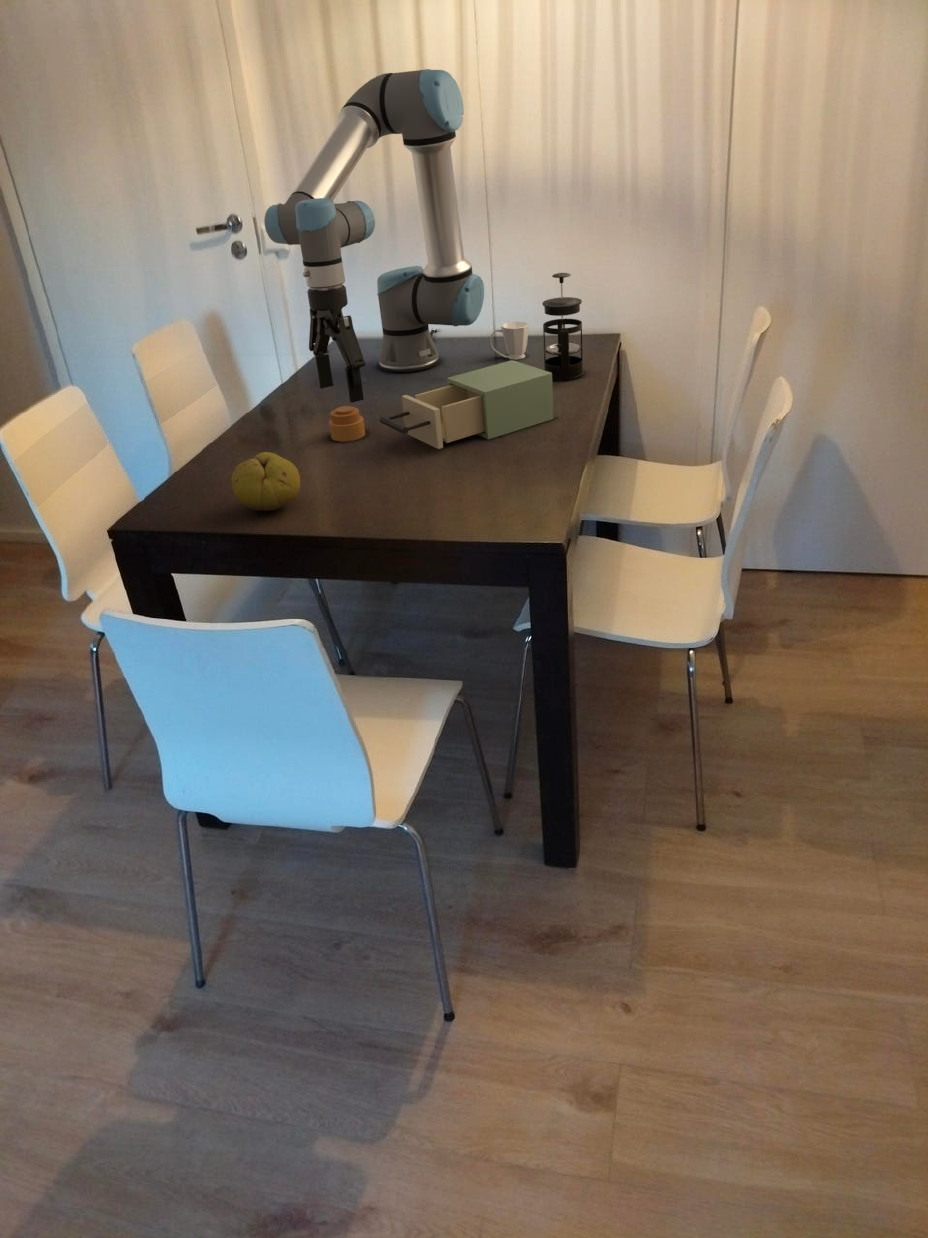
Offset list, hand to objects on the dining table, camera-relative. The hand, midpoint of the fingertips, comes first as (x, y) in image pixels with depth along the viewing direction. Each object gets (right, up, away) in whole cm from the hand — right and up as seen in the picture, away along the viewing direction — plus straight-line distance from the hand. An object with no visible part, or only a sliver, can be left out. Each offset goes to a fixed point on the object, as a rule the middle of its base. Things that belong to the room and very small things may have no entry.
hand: (341, 393), depth 192 cm
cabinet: (+33, -5, +5) cm, 34 cm away
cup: (+37, +20, +45) cm, 62 cm away
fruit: (-9, -27, -25) cm, 38 cm away
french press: (+49, +11, +29) cm, 58 cm away
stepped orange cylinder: (+1, -8, +5) cm, 9 cm away
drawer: (+20, -9, -2) cm, 22 cm away
